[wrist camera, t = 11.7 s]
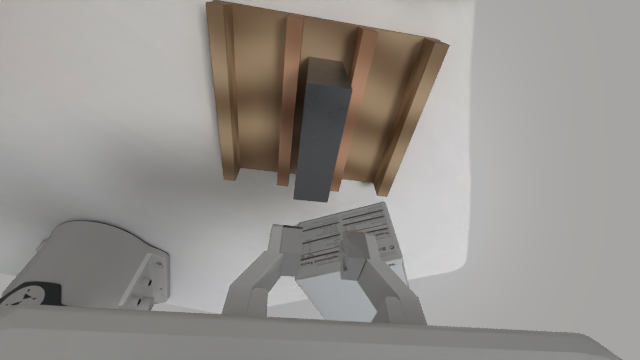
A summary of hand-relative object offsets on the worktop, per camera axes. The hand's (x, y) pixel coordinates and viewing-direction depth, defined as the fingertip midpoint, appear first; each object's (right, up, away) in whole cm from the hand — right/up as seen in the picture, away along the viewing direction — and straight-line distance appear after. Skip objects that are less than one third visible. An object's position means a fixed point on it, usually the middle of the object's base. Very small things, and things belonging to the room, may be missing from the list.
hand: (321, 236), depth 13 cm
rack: (0, +10, +14) cm, 17 cm away
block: (0, +10, +13) cm, 16 cm away
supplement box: (+5, -8, +28) cm, 30 cm away
